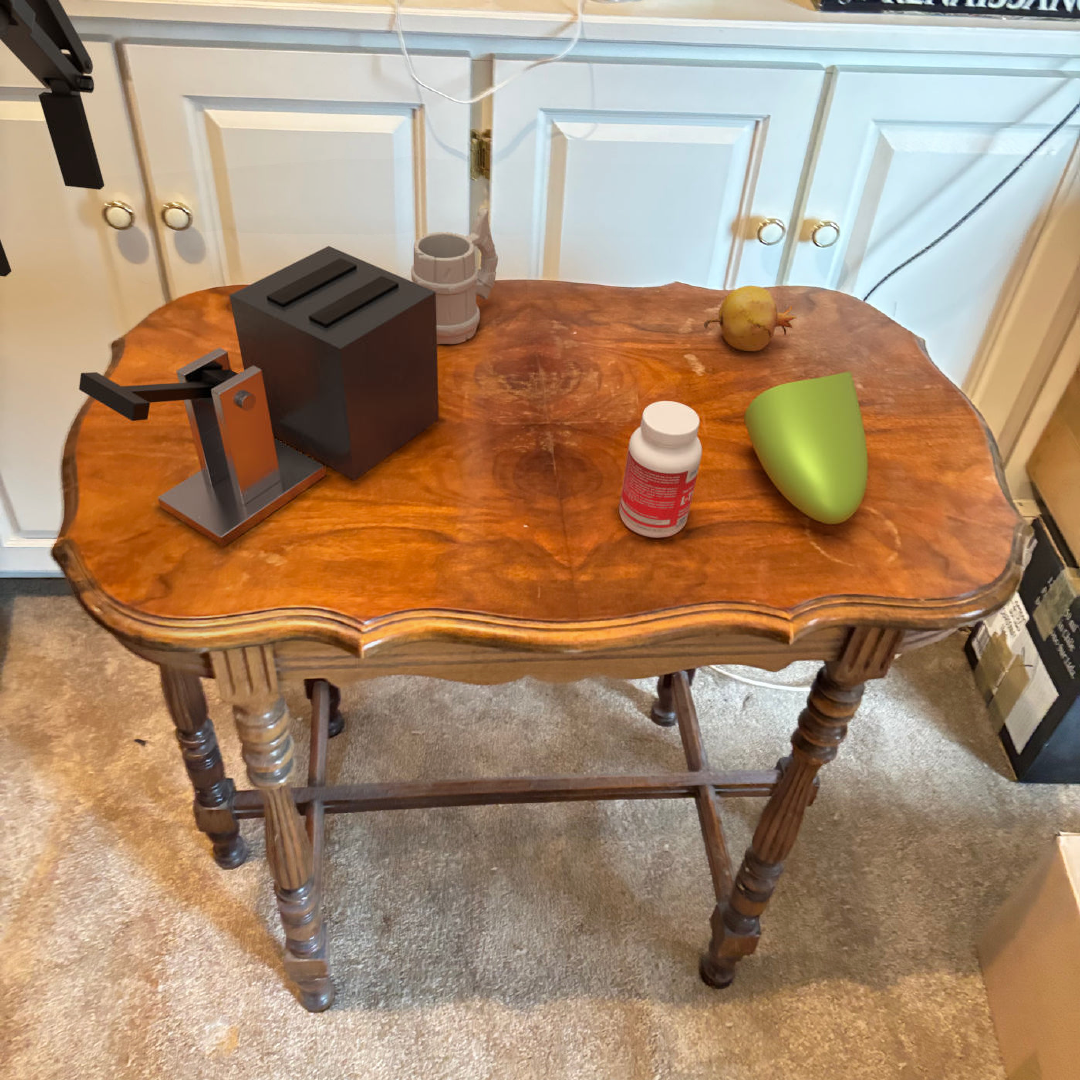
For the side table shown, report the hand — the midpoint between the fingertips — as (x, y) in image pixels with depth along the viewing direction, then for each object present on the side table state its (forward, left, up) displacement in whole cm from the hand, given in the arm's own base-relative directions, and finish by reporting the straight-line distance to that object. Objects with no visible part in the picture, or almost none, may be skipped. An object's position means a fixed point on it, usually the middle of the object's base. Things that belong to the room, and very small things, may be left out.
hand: (40, 226), depth 66 cm
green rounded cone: (+61, -14, -25) cm, 67 cm away
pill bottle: (+44, -16, -25) cm, 53 cm away
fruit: (+66, +8, -25) cm, 71 cm away
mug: (+36, +20, -25) cm, 48 cm away
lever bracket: (+10, -3, -24) cm, 26 cm away
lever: (+6, -6, -13) cm, 15 cm away
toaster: (+20, +5, -24) cm, 32 cm away
